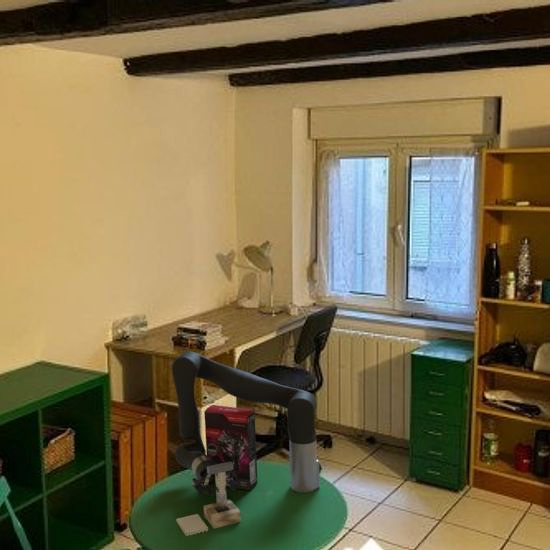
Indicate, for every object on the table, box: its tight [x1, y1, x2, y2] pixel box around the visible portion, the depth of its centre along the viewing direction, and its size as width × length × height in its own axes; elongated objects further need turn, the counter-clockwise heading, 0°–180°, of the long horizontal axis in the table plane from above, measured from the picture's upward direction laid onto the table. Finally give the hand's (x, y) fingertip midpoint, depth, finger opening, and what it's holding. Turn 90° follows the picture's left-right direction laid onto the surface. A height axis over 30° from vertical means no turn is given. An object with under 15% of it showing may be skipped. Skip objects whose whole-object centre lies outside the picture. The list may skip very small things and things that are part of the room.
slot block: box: [203, 499, 242, 529], centre depth 226 cm, size 9×9×4 cm
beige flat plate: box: [175, 513, 209, 537], centre depth 222 cm, size 7×10×1 cm
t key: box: [207, 462, 233, 513], centre depth 225 cm, size 8×3×18 cm, turn 115°
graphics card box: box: [204, 404, 258, 491], centre depth 249 cm, size 17×7×27 cm, turn 68°
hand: (223, 490), depth 223 cm, fingers open, 7 cm apart
